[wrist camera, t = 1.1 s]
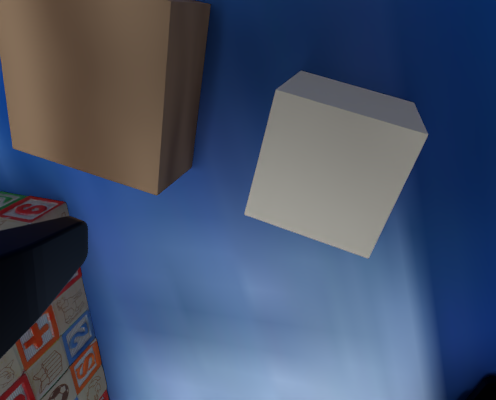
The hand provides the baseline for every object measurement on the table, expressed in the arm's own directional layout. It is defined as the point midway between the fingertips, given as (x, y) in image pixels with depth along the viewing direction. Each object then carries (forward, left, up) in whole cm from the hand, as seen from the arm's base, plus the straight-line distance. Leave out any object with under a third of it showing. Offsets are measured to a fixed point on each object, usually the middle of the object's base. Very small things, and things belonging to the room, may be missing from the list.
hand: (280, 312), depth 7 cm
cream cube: (0, 0, -12) cm, 12 cm away
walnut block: (+11, 0, -12) cm, 16 cm away
